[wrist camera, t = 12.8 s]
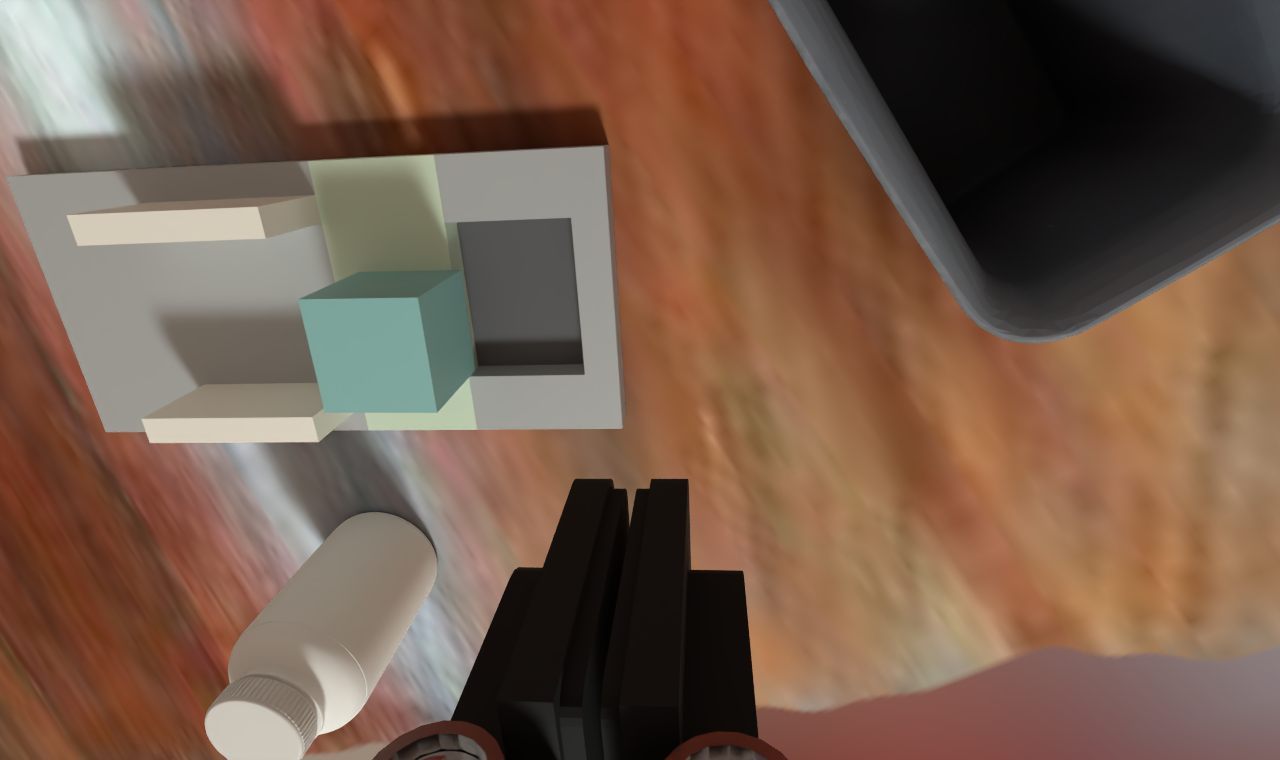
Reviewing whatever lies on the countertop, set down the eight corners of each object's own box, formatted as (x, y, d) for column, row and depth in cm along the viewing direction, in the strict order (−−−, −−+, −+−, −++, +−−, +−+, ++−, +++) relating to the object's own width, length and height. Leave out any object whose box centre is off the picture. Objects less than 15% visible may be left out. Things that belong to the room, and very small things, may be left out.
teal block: (358, 271, 37) (297, 299, 32) (461, 270, 36) (417, 297, 31) (378, 370, 39) (324, 412, 34) (475, 370, 39) (437, 412, 33)
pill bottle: (310, 538, 47) (146, 715, 33) (390, 489, 45) (251, 656, 31) (382, 615, 49) (257, 811, 35) (463, 572, 47) (362, 763, 33)
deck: (39, 173, 39) (-95, 185, 32) (608, 144, 35) (587, 150, 29) (130, 419, 45) (33, 470, 38) (626, 414, 41) (611, 470, 35)
